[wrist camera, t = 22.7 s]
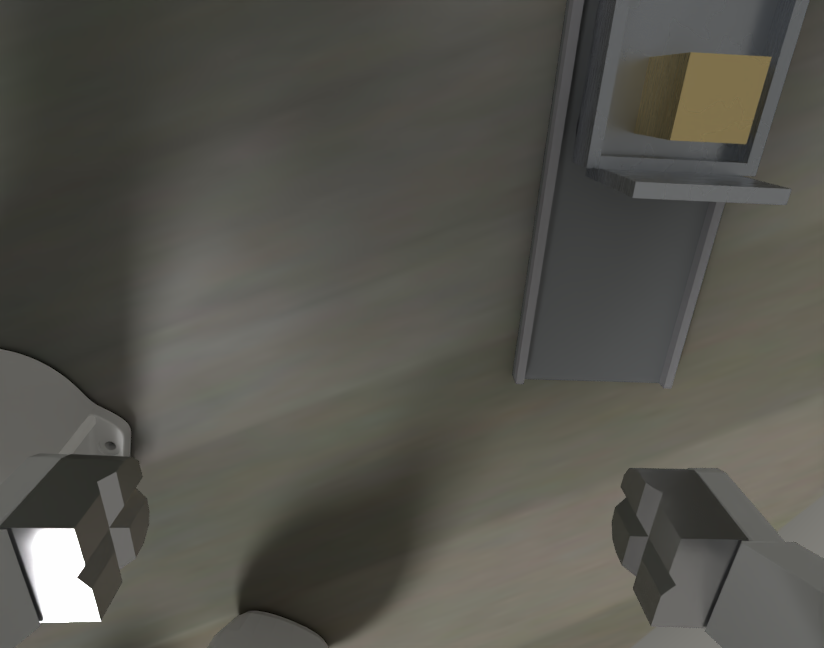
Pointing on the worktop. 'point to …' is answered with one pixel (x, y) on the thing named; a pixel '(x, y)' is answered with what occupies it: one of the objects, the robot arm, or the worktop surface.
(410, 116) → the worktop surface
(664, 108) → the wooden block
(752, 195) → the long grey tray
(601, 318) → the track
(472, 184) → the worktop surface
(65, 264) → the worktop surface
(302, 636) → the soap bottle
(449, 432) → the worktop surface
